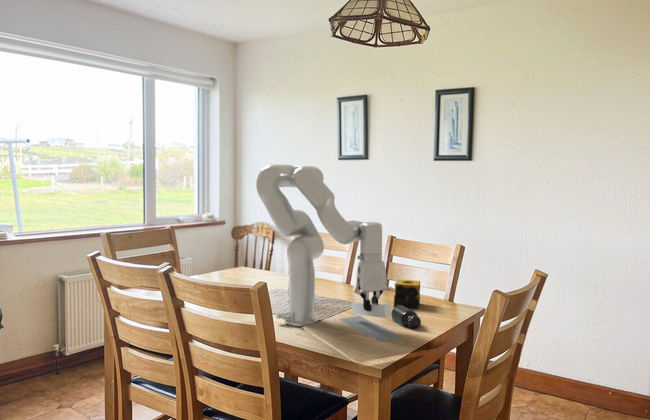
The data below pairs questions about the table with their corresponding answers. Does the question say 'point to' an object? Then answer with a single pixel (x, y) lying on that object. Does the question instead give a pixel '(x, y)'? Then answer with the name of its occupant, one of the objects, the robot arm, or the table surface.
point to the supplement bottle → (405, 317)
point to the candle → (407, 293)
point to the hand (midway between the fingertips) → (370, 309)
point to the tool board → (371, 328)
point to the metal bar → (372, 310)
